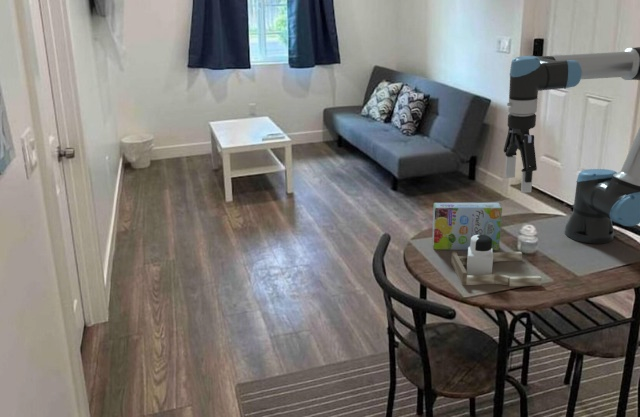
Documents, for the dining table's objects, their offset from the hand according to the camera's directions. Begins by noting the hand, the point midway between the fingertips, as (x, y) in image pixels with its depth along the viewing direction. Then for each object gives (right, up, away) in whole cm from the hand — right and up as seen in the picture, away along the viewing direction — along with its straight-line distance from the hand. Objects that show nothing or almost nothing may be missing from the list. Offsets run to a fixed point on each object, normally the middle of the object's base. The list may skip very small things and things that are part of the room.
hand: (517, 184), depth 167 cm
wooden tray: (-7, -27, +4) cm, 28 cm away
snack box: (-10, -20, +22) cm, 31 cm away
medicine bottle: (-10, -27, +4) cm, 29 cm away
